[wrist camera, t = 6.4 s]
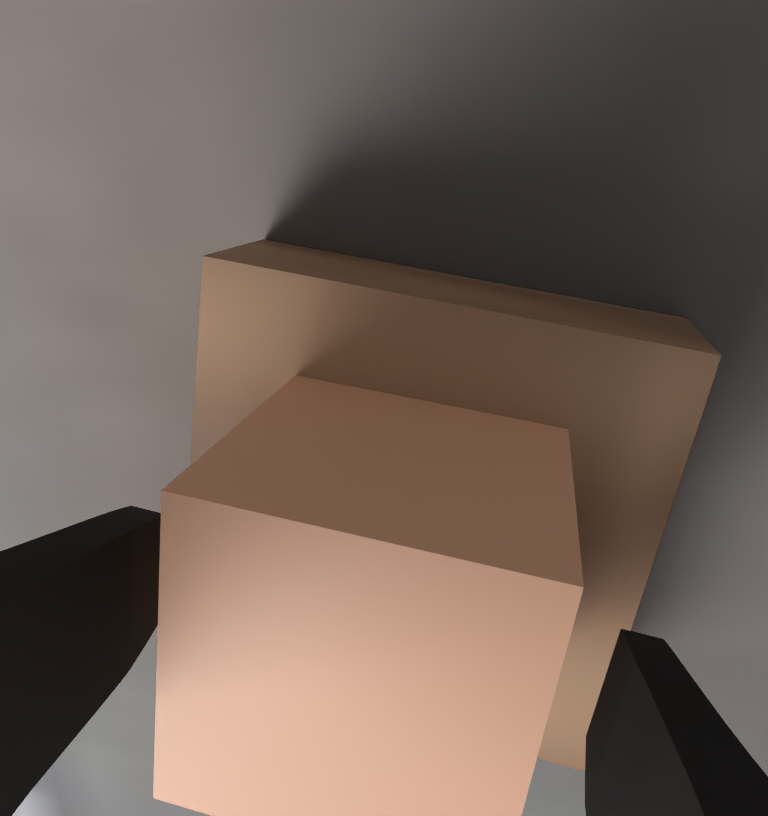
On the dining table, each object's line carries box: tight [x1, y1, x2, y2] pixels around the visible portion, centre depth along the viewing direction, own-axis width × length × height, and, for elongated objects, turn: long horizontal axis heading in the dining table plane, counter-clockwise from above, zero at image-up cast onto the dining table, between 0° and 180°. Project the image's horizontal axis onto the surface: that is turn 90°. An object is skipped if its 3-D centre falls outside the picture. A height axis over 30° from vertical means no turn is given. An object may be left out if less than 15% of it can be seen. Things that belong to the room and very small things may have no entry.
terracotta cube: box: [153, 375, 584, 816], centre depth 11 cm, size 5×5×5 cm
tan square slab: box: [191, 239, 722, 771], centre depth 15 cm, size 9×9×3 cm
